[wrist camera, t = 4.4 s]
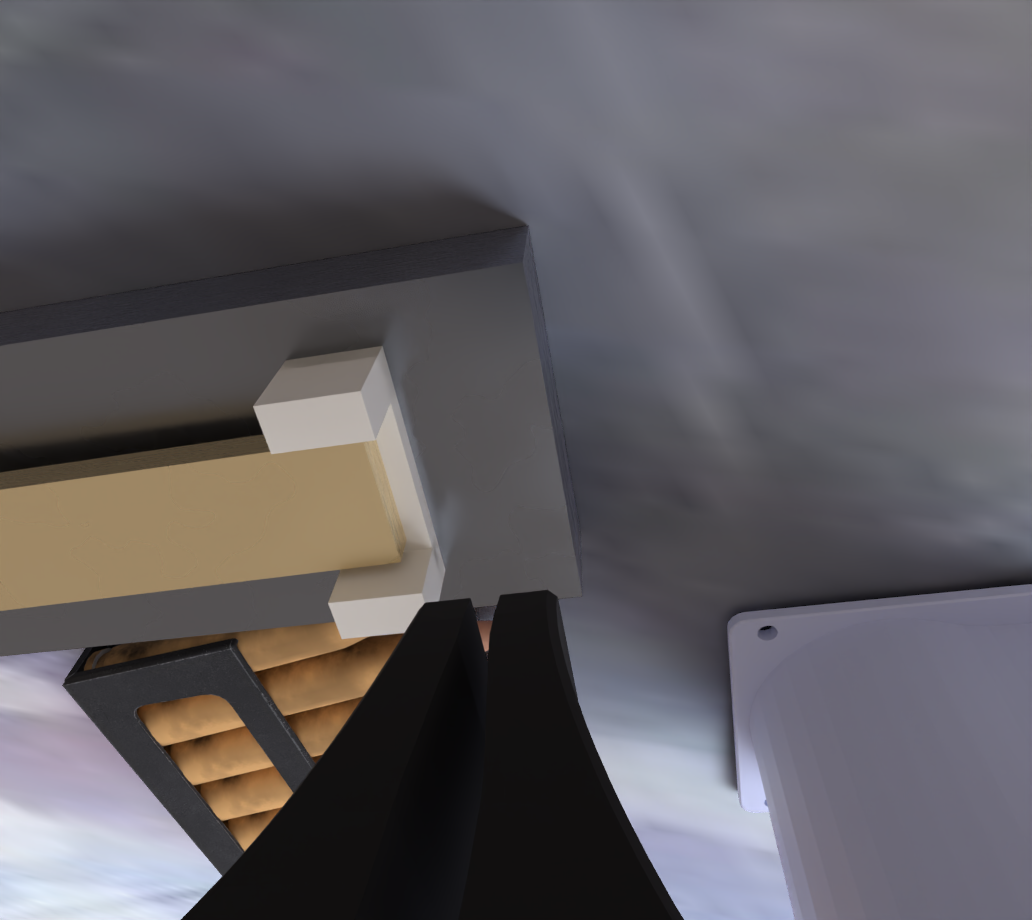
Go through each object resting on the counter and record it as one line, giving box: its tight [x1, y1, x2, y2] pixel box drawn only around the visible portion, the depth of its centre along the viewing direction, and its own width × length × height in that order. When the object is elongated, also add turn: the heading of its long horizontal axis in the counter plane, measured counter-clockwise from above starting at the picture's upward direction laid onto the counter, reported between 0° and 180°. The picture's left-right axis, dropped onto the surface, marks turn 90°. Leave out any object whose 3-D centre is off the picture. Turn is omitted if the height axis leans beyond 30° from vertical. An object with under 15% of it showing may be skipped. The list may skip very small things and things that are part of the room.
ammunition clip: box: [62, 621, 493, 876], centre depth 24 cm, size 11×2×12 cm
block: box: [0, 226, 582, 656], centre depth 19 cm, size 19×8×4 cm, turn 100°
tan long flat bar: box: [0, 434, 406, 611], centre depth 18 cm, size 15×3×1 cm, turn 100°
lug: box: [253, 346, 445, 639], centre depth 17 cm, size 2×6×2 cm, turn 10°
